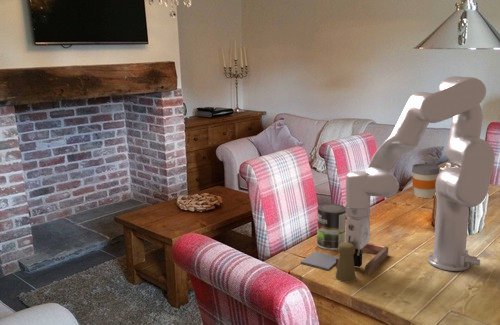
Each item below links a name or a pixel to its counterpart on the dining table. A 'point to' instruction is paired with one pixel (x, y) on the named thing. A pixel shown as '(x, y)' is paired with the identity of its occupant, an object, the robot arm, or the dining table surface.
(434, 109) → the robot arm
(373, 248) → the brown u-shaped frame
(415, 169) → the reusable coffee cup
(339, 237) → the coffee can
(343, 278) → the tan hourglass shape
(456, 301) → the dining table surface
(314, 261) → the coaster
